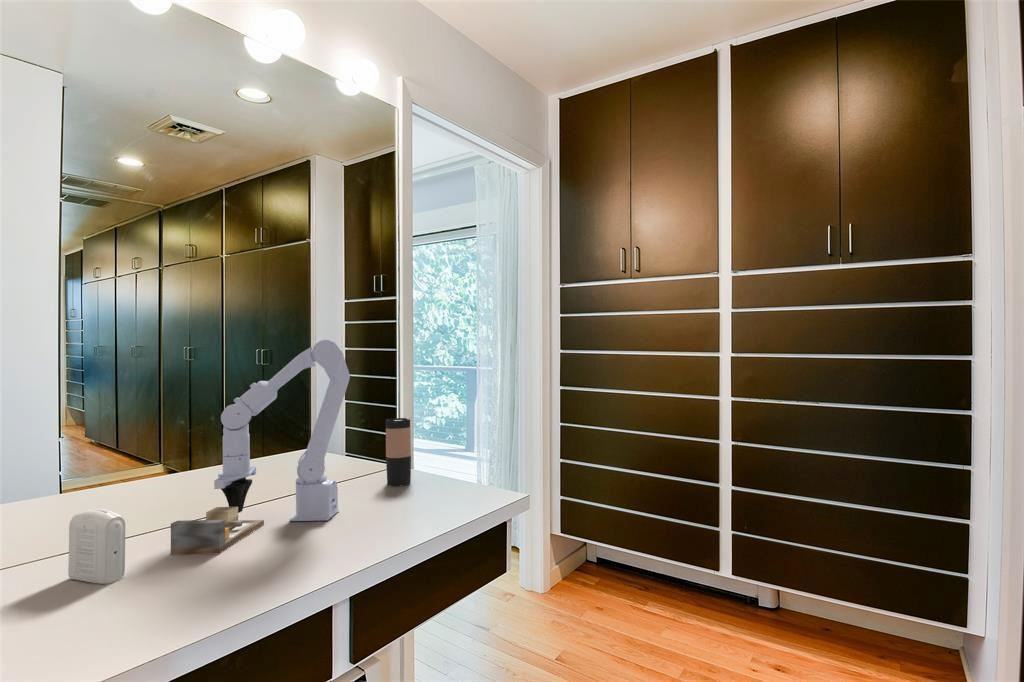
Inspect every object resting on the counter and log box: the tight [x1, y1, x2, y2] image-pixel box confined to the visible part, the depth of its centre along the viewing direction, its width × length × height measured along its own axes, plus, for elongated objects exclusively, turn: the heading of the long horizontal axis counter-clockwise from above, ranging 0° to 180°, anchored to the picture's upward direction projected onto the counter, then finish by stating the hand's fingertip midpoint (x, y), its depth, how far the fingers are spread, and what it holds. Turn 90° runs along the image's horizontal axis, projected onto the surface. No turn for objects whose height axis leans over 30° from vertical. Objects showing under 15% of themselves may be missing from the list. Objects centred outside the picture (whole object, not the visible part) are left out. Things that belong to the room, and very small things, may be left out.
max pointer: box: [225, 528, 229, 539], centre depth 108 cm, size 2×2×2 cm, turn 89°
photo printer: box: [67, 508, 126, 585], centre depth 93 cm, size 10×4×12 cm, turn 73°
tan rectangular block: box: [205, 506, 242, 529], centre depth 116 cm, size 8×4×4 cm, turn 89°
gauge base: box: [170, 519, 265, 555], centre depth 113 cm, size 10×18×6 cm, turn 179°
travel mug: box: [385, 417, 412, 487], centre depth 161 cm, size 8×8×20 cm
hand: (236, 512), depth 122 cm, fingers closed
